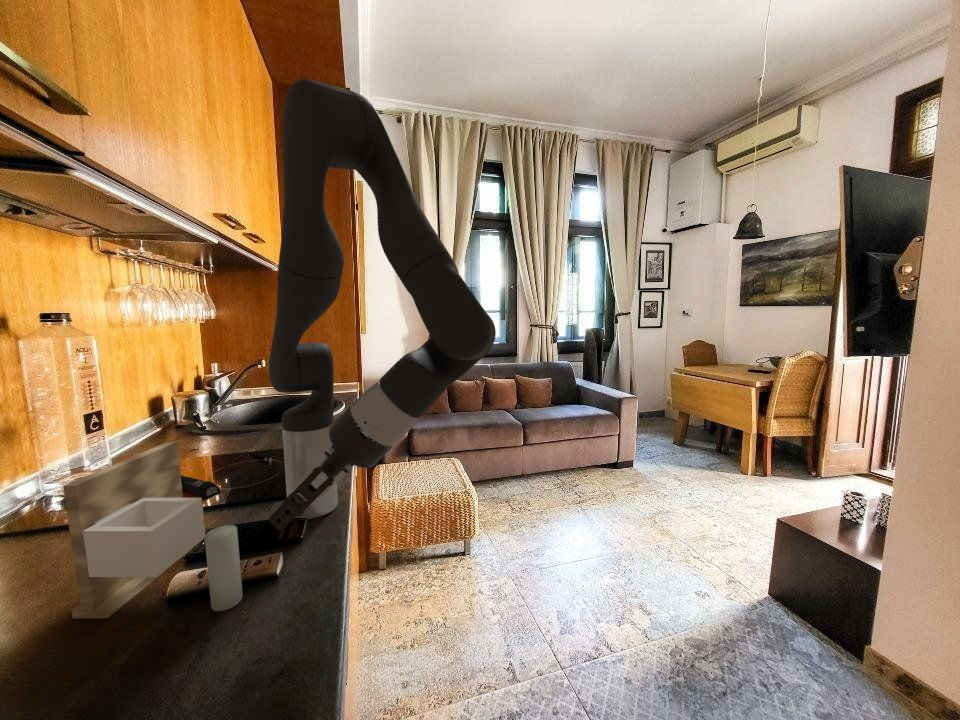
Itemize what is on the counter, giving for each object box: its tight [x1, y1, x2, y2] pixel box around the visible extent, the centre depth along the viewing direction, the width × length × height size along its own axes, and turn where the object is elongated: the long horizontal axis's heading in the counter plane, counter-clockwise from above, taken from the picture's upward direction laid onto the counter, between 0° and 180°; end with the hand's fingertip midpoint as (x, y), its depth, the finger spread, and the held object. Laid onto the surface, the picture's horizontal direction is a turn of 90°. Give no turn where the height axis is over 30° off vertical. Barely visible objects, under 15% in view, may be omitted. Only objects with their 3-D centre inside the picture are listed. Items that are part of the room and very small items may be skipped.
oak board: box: [62, 441, 191, 619], centre depth 56 cm, size 16×4×18 cm, turn 0°
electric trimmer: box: [181, 474, 221, 500], centre depth 85 cm, size 4×16×3 cm, turn 66°
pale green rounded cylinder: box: [204, 524, 244, 612], centre depth 52 cm, size 4×4×10 cm
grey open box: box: [83, 497, 206, 578], centre depth 52 cm, size 9×9×6 cm
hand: (292, 506), depth 51 cm, fingers open, 8 cm apart
